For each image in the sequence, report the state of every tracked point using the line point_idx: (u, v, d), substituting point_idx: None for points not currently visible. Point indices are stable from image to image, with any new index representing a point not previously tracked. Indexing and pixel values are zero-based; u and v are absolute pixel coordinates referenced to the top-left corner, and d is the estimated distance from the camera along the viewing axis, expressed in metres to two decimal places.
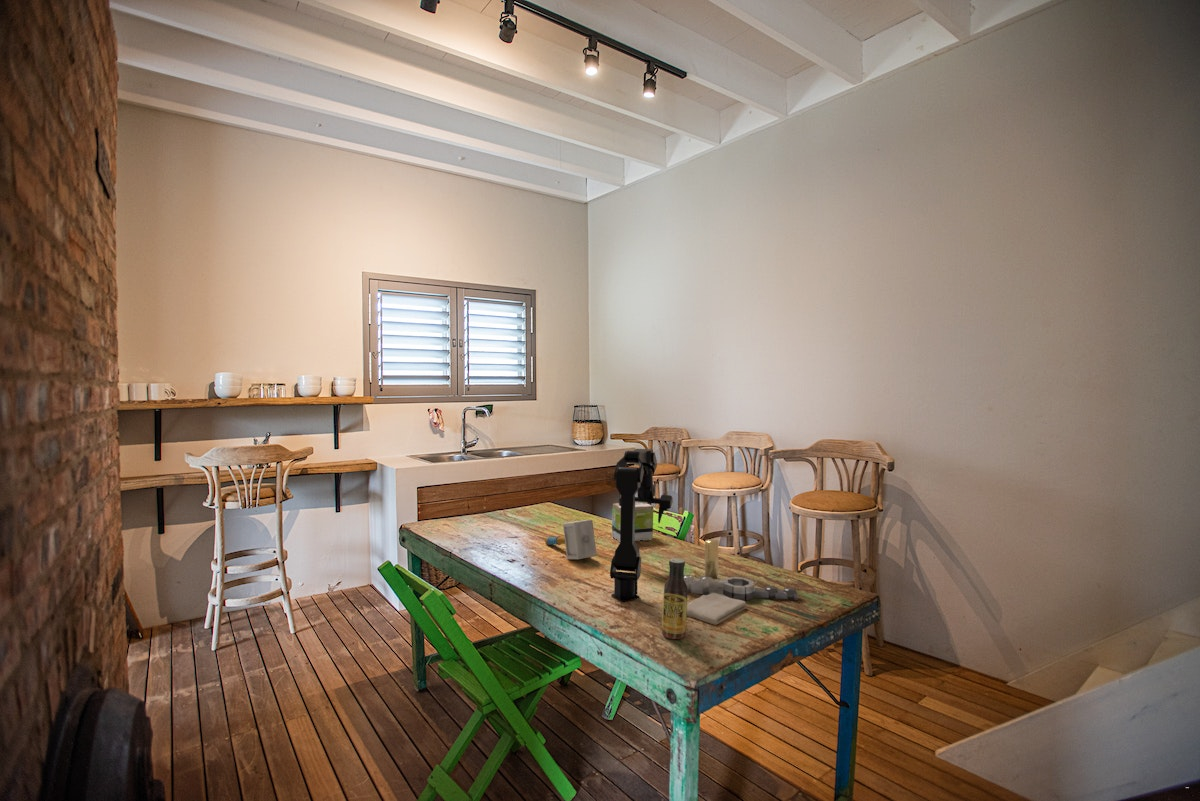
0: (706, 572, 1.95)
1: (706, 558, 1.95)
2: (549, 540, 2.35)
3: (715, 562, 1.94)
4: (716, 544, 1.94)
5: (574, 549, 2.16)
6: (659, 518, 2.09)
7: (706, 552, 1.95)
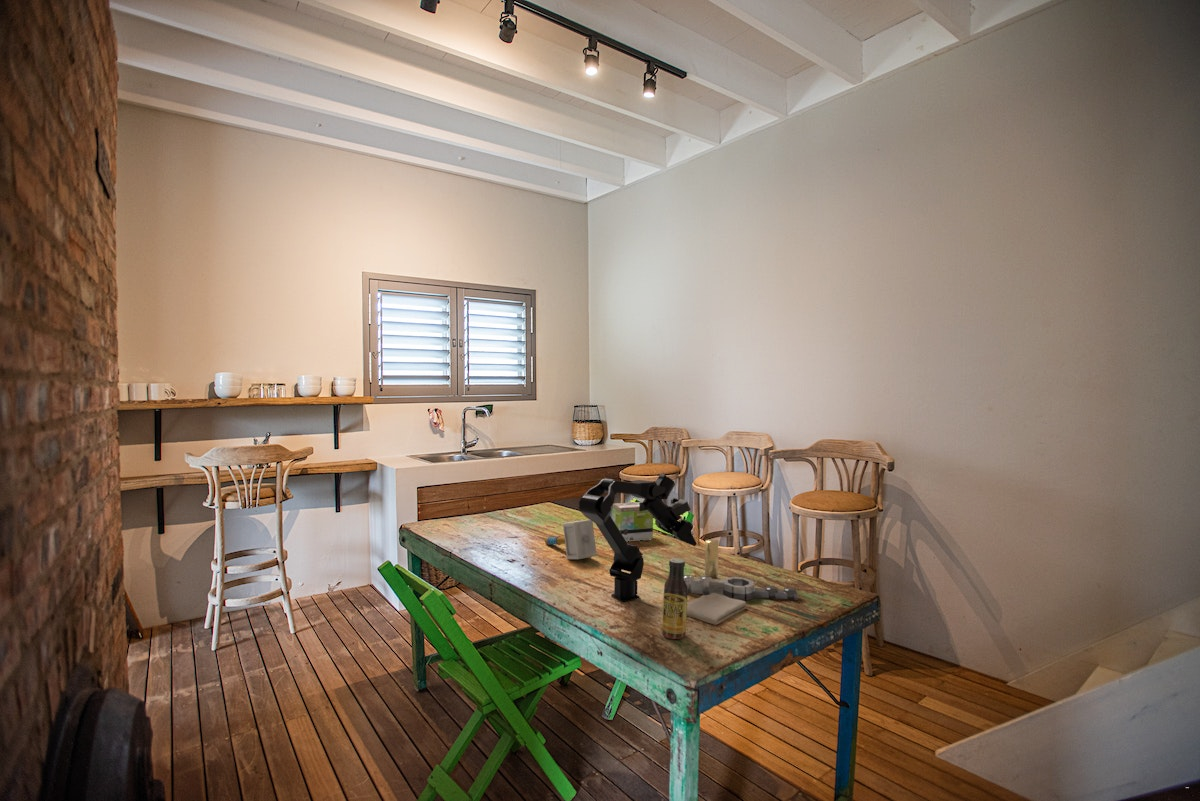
0: (706, 572, 1.95)
1: (706, 558, 1.95)
2: (549, 540, 2.35)
3: (715, 562, 1.94)
4: (716, 544, 1.94)
5: (574, 549, 2.16)
6: (688, 543, 1.88)
7: (706, 552, 1.95)
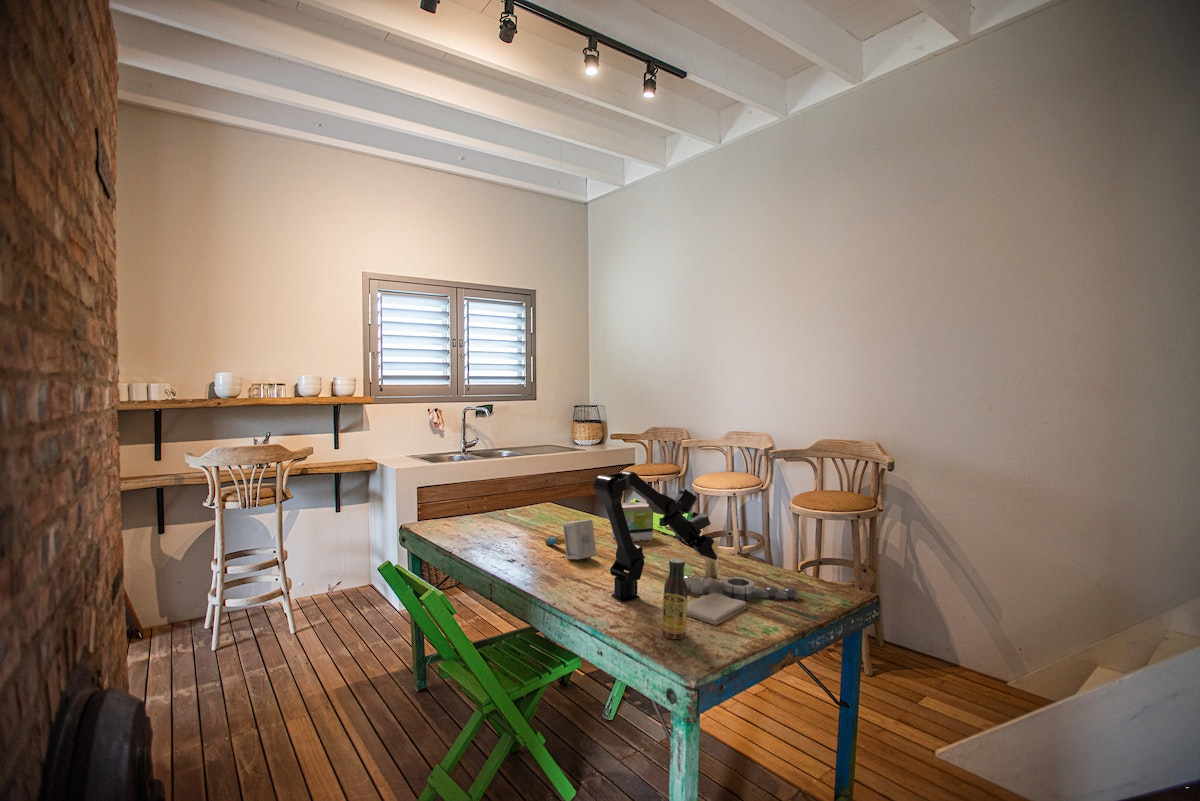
0: (706, 572, 1.95)
1: (706, 558, 1.95)
2: (549, 540, 2.35)
3: (715, 562, 1.94)
4: (716, 544, 1.94)
5: (574, 549, 2.16)
6: (709, 557, 1.91)
7: None
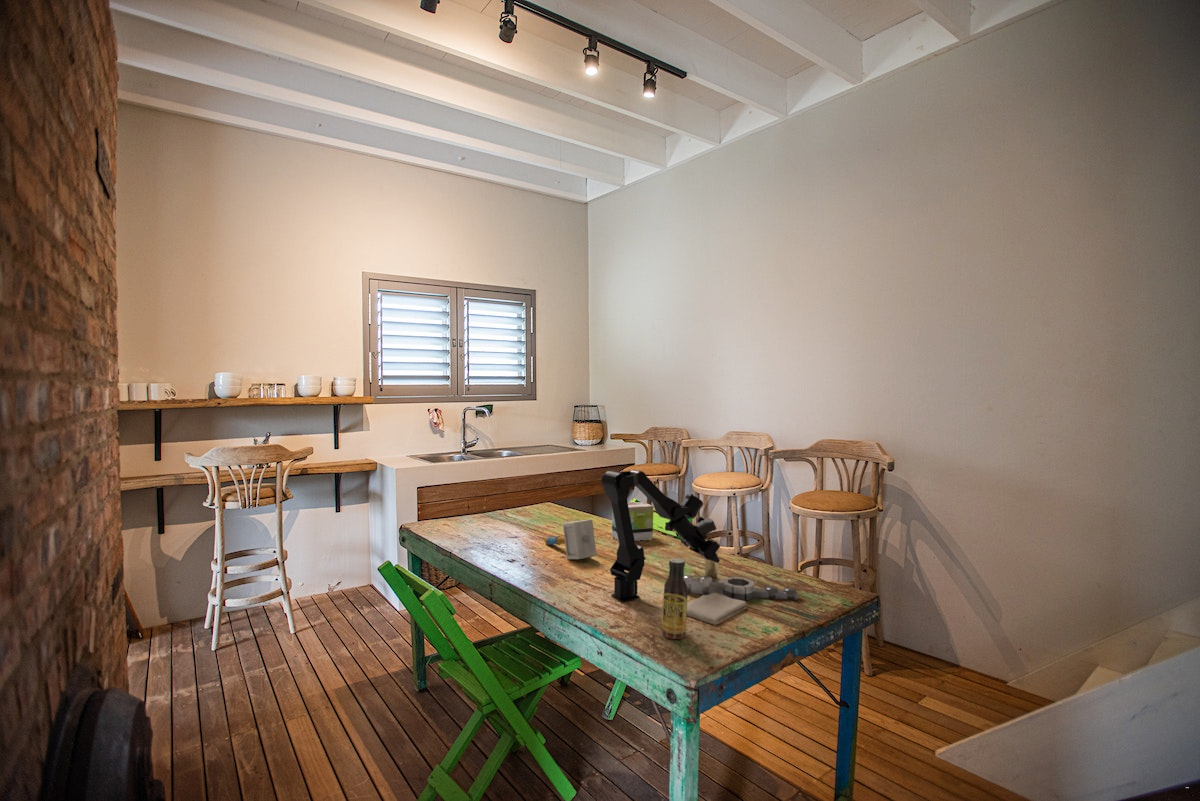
0: (706, 572, 1.95)
1: None
2: (549, 540, 2.35)
3: (715, 562, 1.94)
4: None
5: (573, 549, 2.16)
6: (711, 560, 1.93)
7: None
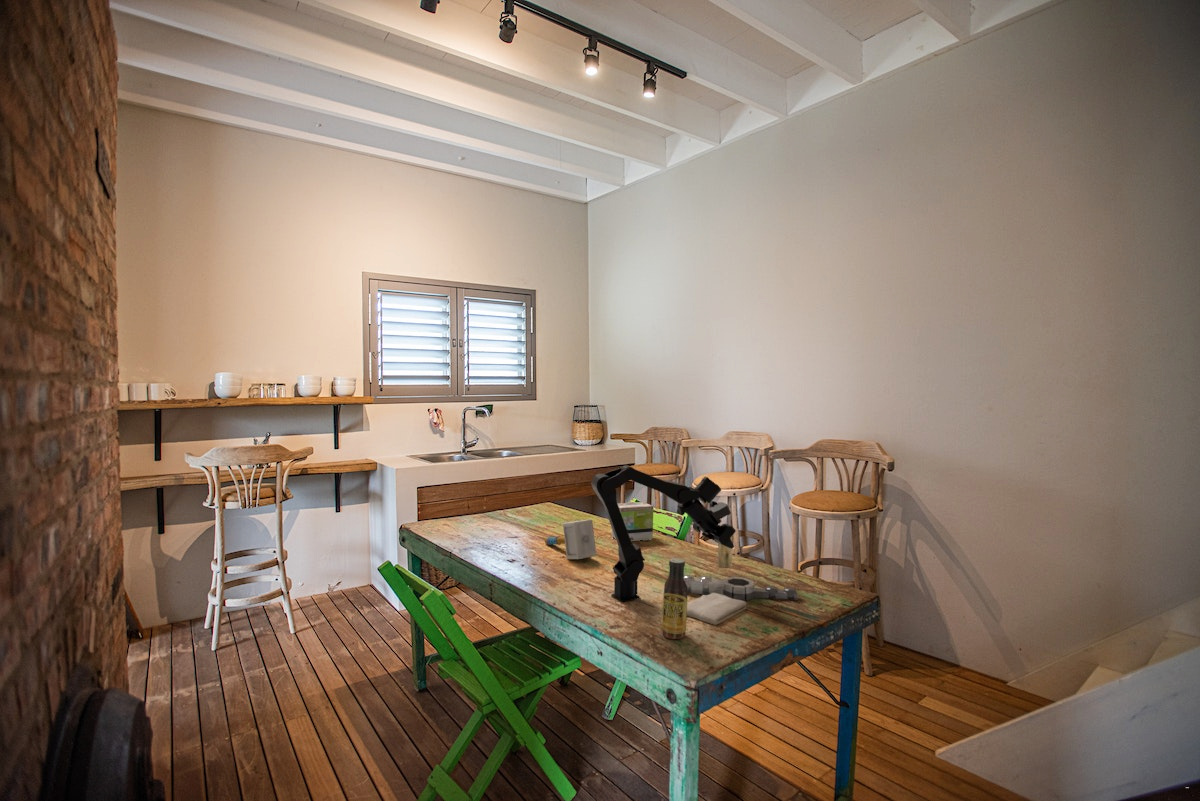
0: (720, 558, 1.88)
1: (720, 544, 1.88)
2: (549, 540, 2.36)
3: (729, 548, 1.87)
4: None
5: (573, 549, 2.16)
6: None
7: None
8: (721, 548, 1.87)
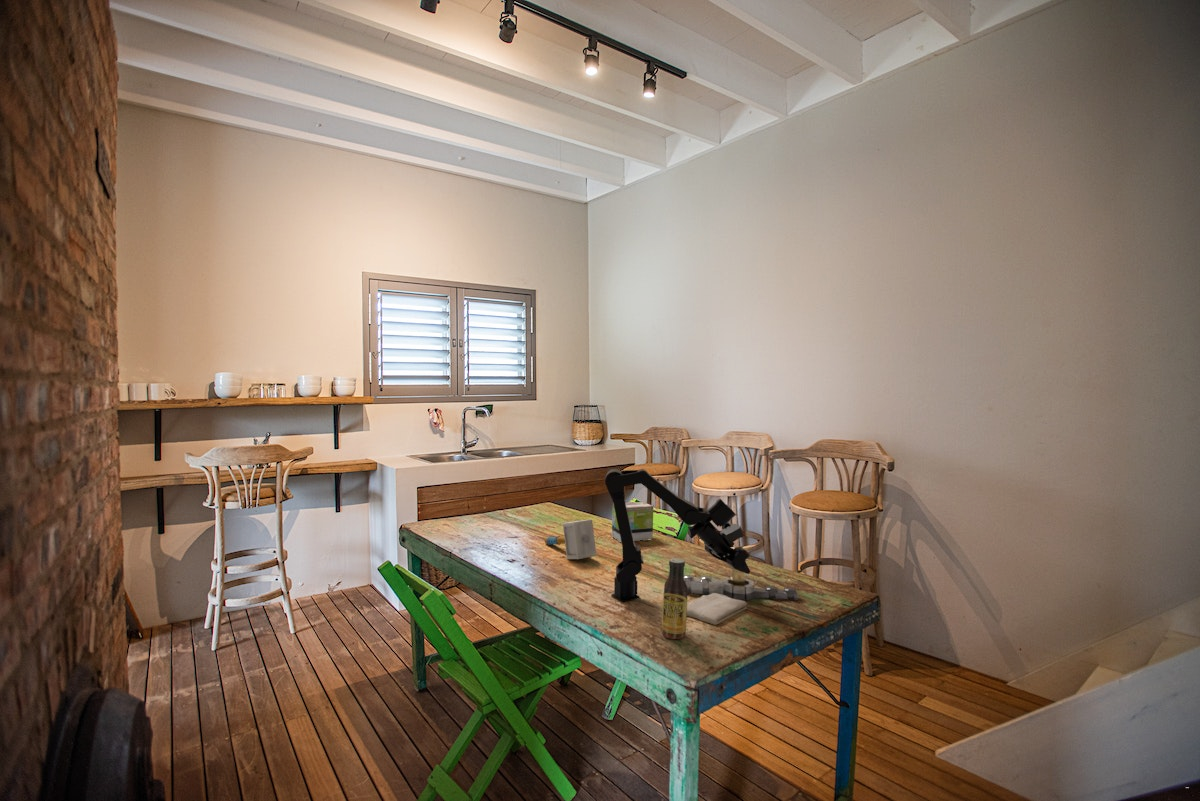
0: None
1: (732, 572, 1.81)
2: (549, 540, 2.36)
3: (742, 576, 1.80)
4: None
5: (573, 549, 2.16)
6: None
7: None
8: (734, 576, 1.81)
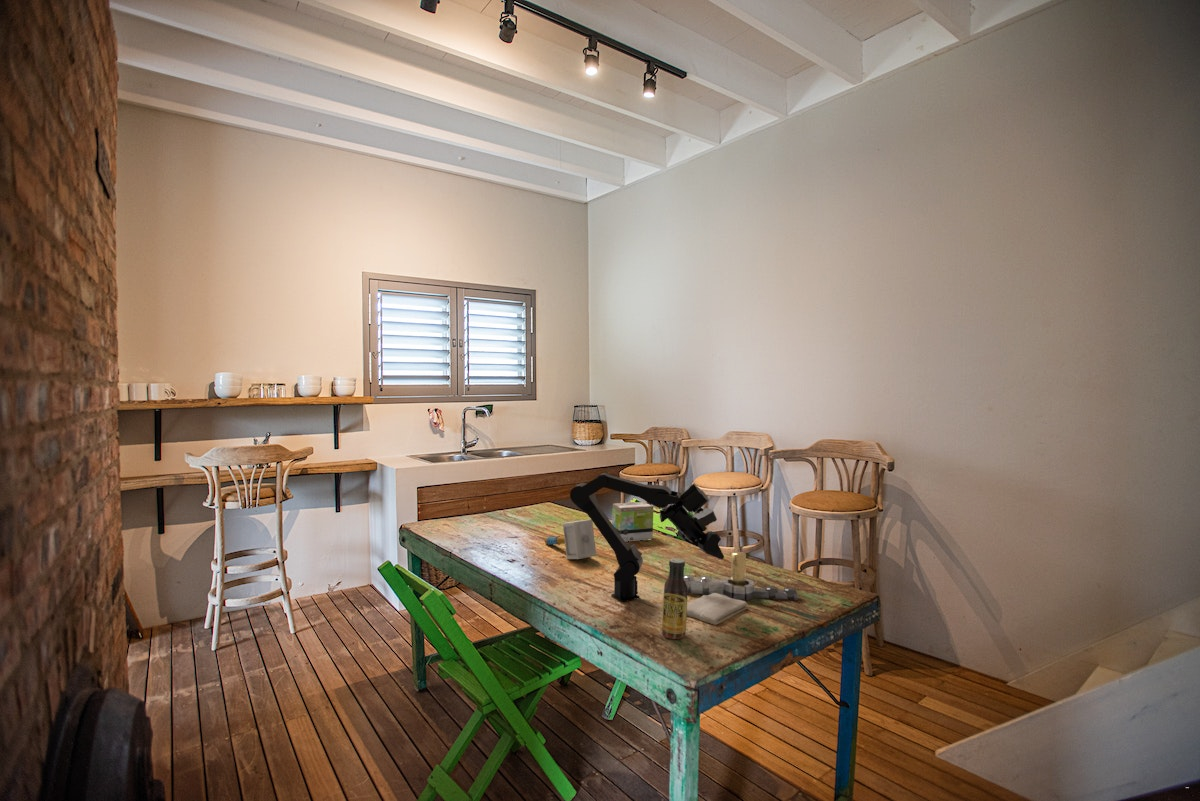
0: None
1: (733, 572, 1.81)
2: (549, 540, 2.36)
3: (742, 576, 1.80)
4: (744, 557, 1.80)
5: (573, 549, 2.16)
6: (715, 556, 1.74)
7: (733, 565, 1.81)
8: (734, 576, 1.81)
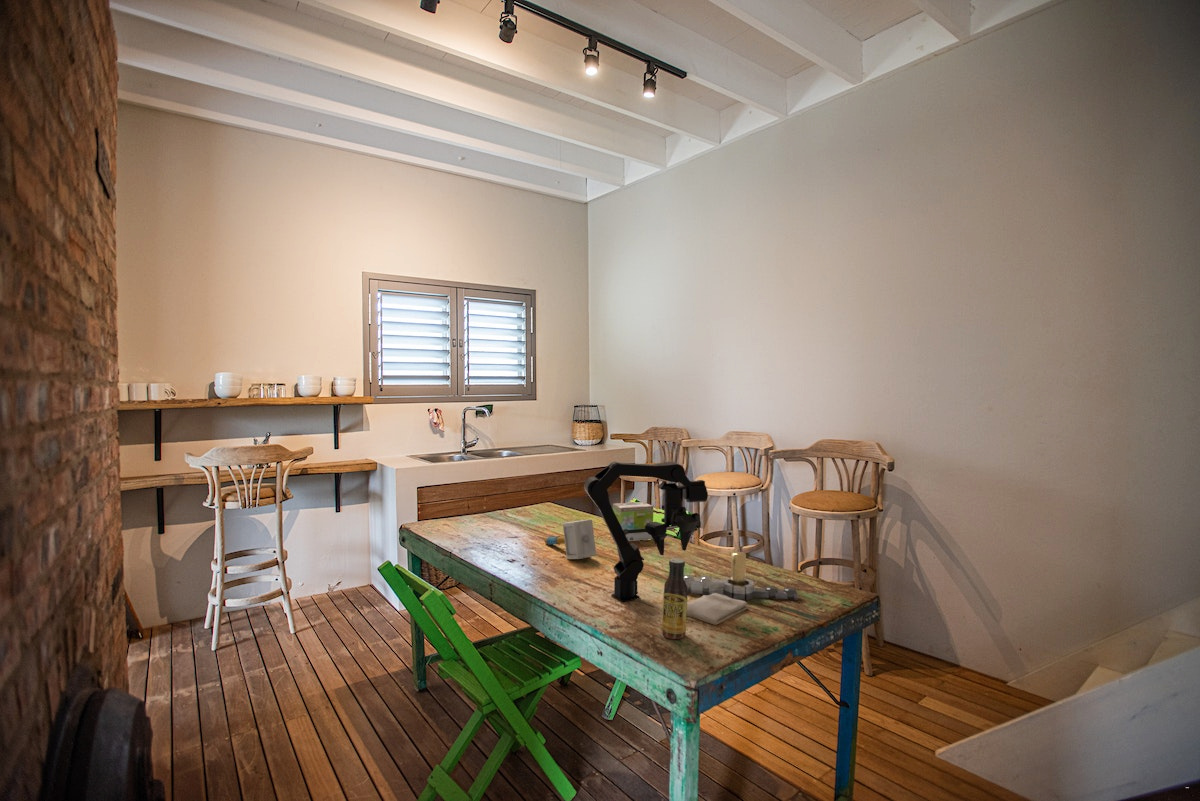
0: None
1: (732, 572, 1.81)
2: (549, 540, 2.36)
3: (742, 576, 1.80)
4: (744, 557, 1.80)
5: (573, 549, 2.16)
6: None
7: (733, 565, 1.81)
8: (734, 576, 1.81)
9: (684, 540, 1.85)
